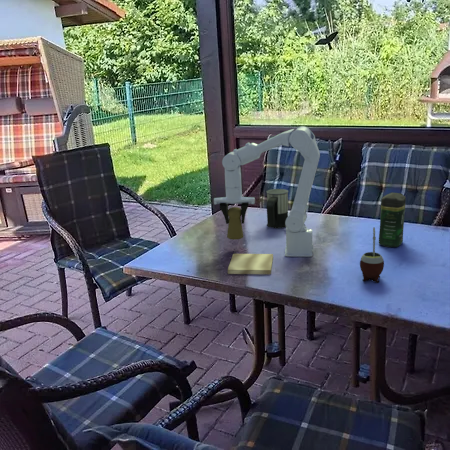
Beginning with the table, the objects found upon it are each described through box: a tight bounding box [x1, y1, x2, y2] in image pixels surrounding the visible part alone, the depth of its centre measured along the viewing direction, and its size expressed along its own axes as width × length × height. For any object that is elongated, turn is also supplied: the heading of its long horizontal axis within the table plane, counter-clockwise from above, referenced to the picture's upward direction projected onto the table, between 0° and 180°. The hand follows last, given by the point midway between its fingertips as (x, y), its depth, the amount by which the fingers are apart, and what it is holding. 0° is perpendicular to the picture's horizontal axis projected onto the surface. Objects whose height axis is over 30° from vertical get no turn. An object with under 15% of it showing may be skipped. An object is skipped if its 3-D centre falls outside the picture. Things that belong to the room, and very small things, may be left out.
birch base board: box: [227, 253, 274, 275], centre depth 166 cm, size 14×14×2 cm
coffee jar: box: [378, 192, 407, 248], centre depth 176 cm, size 10×8×19 cm
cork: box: [226, 206, 244, 241], centre depth 178 cm, size 6×6×11 cm
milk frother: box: [265, 188, 289, 229], centre depth 200 cm, size 14×16×15 cm
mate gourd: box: [359, 227, 385, 284], centre depth 149 cm, size 8×8×15 cm
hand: (235, 222), depth 178 cm, fingers closed on cork, 5 cm apart
